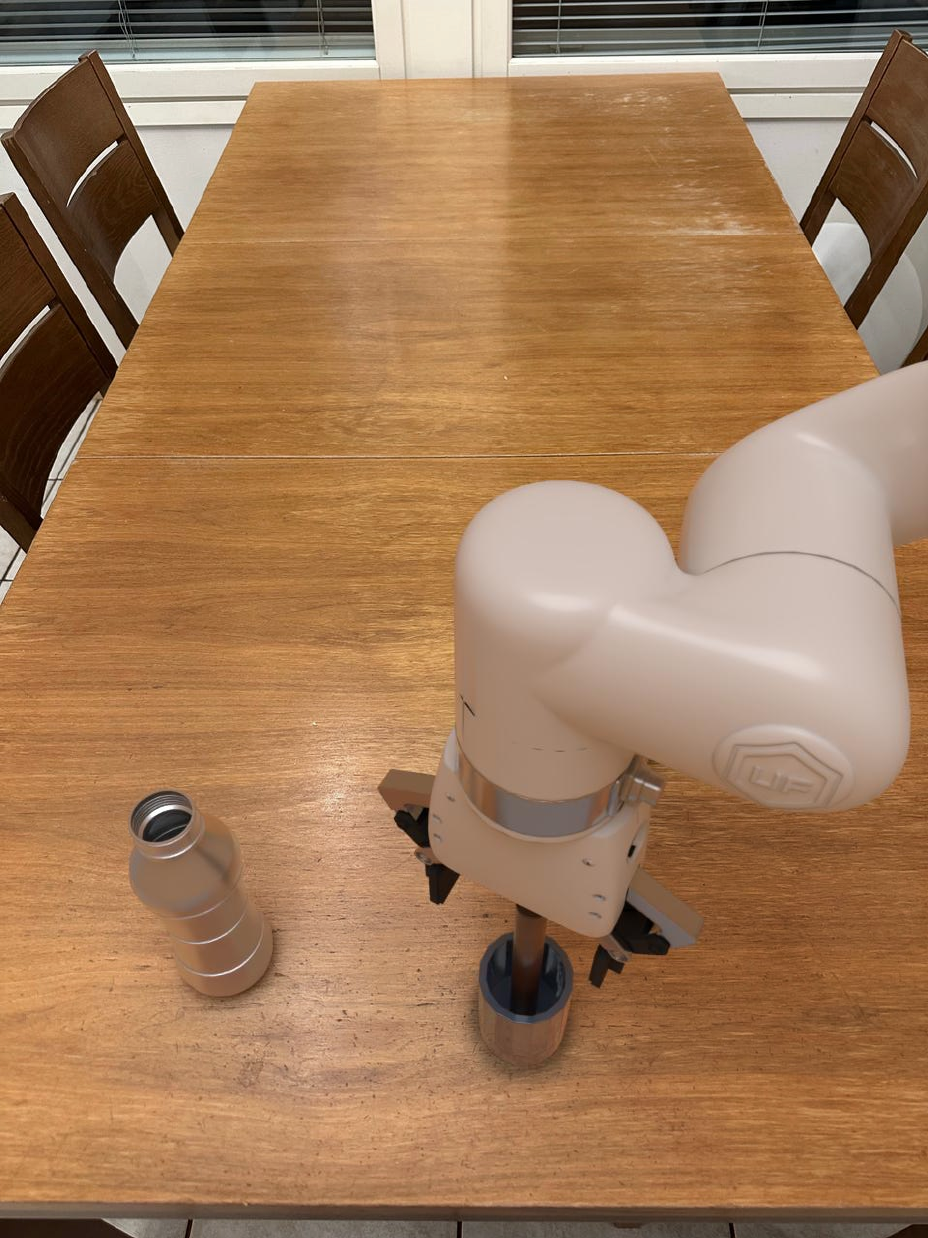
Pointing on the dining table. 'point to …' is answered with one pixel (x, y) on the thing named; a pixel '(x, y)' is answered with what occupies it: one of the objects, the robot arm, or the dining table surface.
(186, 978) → the plastic bottle
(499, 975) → the utensil pot
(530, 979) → the stirring stick
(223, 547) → the dining table surface
